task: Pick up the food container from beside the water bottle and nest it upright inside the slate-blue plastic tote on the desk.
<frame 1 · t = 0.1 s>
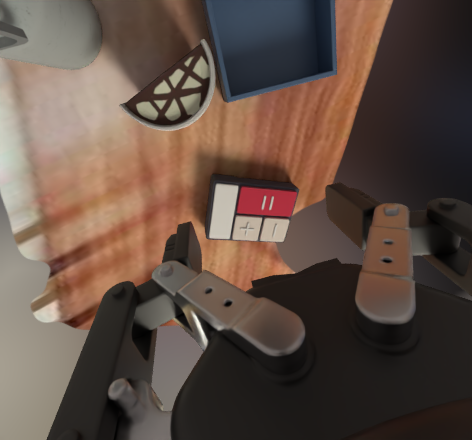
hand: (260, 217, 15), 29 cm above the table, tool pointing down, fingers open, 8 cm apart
calculator: (248, 206, 47), on the table
food container: (182, 98, 37), on the table
tote: (264, 35, 35), on the table
water bottle: (64, 28, 32), on the table
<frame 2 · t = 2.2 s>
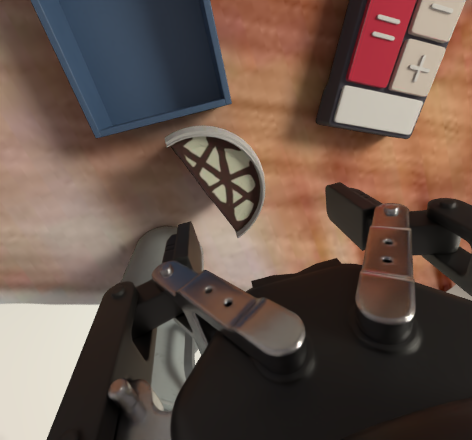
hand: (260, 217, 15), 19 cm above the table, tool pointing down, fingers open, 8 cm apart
calculator: (374, 63, 30), on the table
food container: (223, 155, 32), on the table
tote: (144, 38, 26), on the table
water bottle: (171, 251, 38), on the table
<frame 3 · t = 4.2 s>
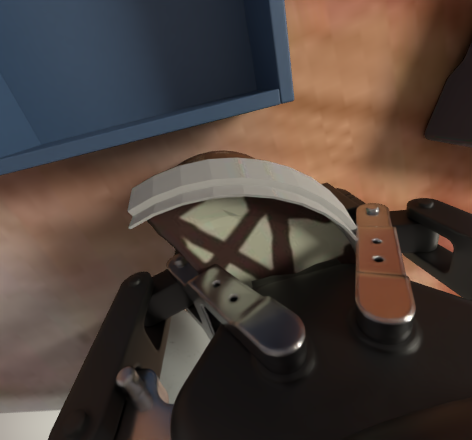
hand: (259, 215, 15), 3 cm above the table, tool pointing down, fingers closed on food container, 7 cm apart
food container: (253, 193, 18), on the table, touching gripper
water bottle: (164, 338, 24), on the table
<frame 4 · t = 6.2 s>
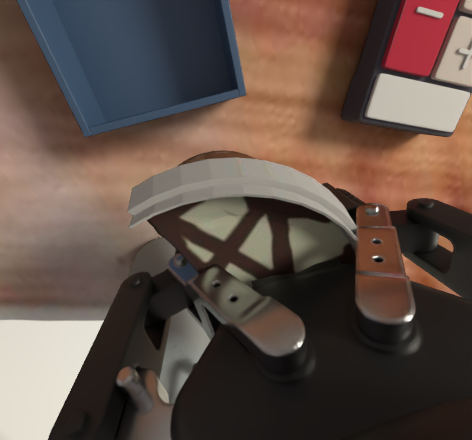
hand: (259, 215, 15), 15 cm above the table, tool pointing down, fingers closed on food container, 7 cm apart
calculator: (411, 48, 25), on the table
food container: (253, 193, 18), point 11 cm above the table, touching gripper
tote: (142, 18, 22), on the table
water bottle: (174, 263, 34), on the table
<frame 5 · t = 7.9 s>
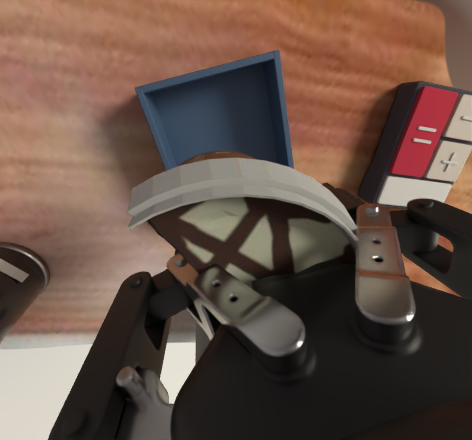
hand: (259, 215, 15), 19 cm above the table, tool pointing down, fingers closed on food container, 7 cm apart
calculator: (409, 149, 35), on the table
food container: (254, 193, 18), point 15 cm above the table, touching gripper
tote: (223, 141, 31), on the table
water bottle: (226, 299, 43), on the table
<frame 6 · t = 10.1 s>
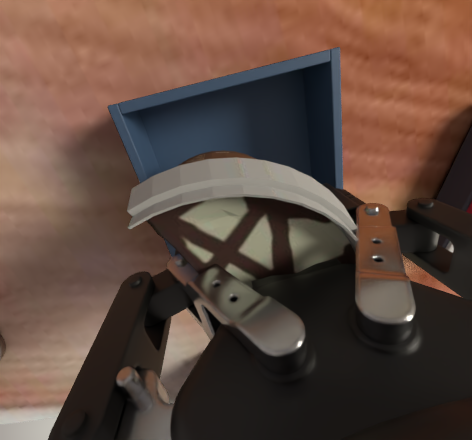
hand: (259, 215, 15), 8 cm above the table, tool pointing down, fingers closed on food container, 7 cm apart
food container: (254, 192, 18), point 5 cm above the table, touching gripper
tote: (239, 175, 22), on the table
when the fingers open (4 cm above the table, at t = 11.8 s): food container stays where it is, resting on tote.
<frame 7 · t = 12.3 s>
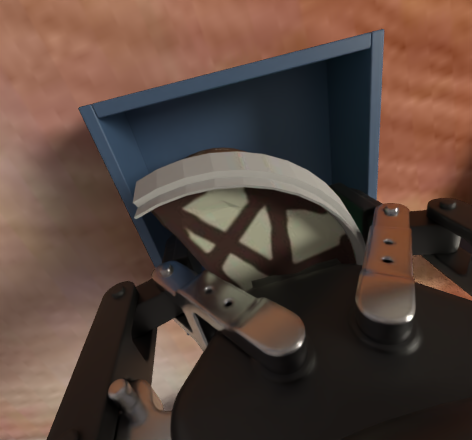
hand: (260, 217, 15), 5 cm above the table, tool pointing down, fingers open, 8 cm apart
food container: (253, 189, 18), point 1 cm above the table, touching tote
tote: (246, 188, 19), on the table
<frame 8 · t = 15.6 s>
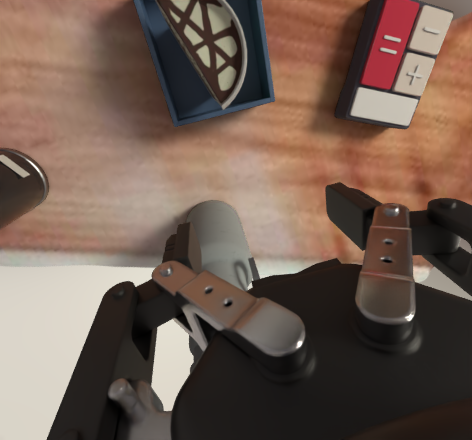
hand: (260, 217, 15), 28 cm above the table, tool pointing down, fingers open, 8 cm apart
calculator: (380, 70, 38), on the table
food container: (210, 50, 34), point 1 cm above the table, touching tote
tote: (208, 52, 34), on the table
water bottle: (214, 222, 46), on the table
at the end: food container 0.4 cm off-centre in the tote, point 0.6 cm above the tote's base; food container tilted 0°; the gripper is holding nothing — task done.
